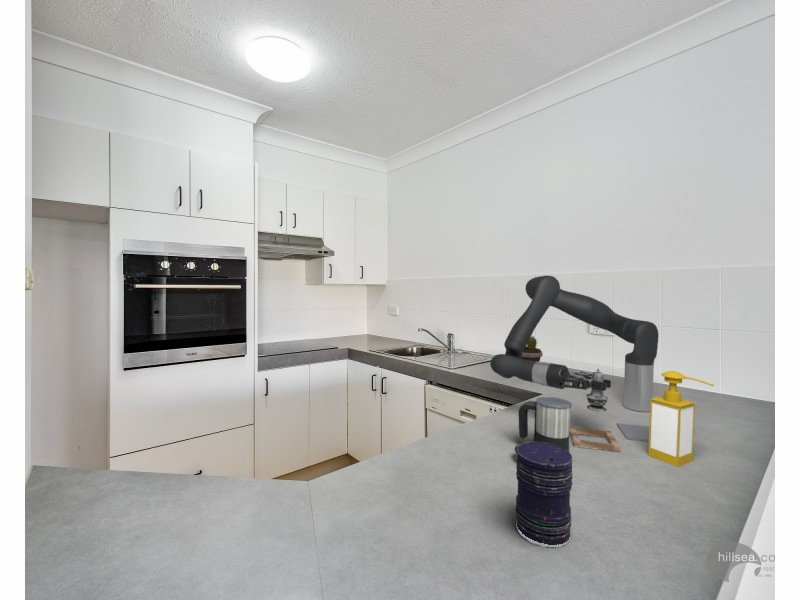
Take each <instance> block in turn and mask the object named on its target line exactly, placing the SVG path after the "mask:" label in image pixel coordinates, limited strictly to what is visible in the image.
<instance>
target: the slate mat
mask: <svg viewBox="0 0 800 600" xmlns="http://www.w3.org/2000/svg"><path fill="white" fill-rule="evenodd" d="M616 426H617V428H618V429H619V430H621V431H620V432H621V434H622V435H623V434H624V435H623V436H624V438H625V437H626V438H625V439H626V440H630V439H633V441H639V440H642V441H641V442H648V441H649V426H647V425H646V426H645V425H637V424H627V423H618V422H617V423H616Z"/></svg>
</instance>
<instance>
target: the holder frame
mask: <svg viewBox="0 0 800 600" xmlns="http://www.w3.org/2000/svg"><path fill="white" fill-rule="evenodd" d="M569 432H570V433H569V436H570V435H571V436H570V438H571V437H572V439H571V441H572V440H573V441H572V443H574V444H573V446H574V445H575V446H583V447H588V448H587V449H589V448H597V449H604V450H603V451H605V450H611V451H610V452H613V451H617V452H616V453H621V448H622V447H621V445H620V443H619V442H618V441H617V439H616V437H615V436H614V434H613V433H612V431H611V430H605V429H603V430H602V429H595V428H586V427H578V426H577V427H575V426H570V431H569ZM579 434H585V435H584V436H587V435H593V436H592V437H596V436H603V437H602V438H605V437H606V438H607V439H606V440H608V441H607V442H601V441H593V440H585V439H580V437H579ZM597 449H596V450H597Z"/></svg>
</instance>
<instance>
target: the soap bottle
mask: <svg viewBox="0 0 800 600" xmlns="http://www.w3.org/2000/svg"><path fill="white" fill-rule="evenodd" d="M660 375H661V376H662V377H663V378H664V379H663V380H664V382H665V383H666V382H667V383H668V384H669V388H667V389H664V395H661V396H657V397H653V398H652V399H650V400H651V401H650V411H649V426H648V427H649V442H648V452H647V453H648V456H649V457H651V458H655V459H657V460H659V461H662V462H665V463H667V464H670V465H673V466H675V467H681V466H682V465H685V464H688V463H691V462H693V461H694V459H693V458H694V436H695V435H694V433H695V411H696V409H695V408H696V402H695V401H690V400H686V399H682V391H680V390H677V387H678V386H677V384H678V385H679V384H682V383H683V380H684V379H685V380H686V379H687V380H692V381H697V382H700V383H703V384H706V385H709V386H711V387H714V386H715V384H714V383H711V382H708V381H705V380H701V379H698V378H694V377H690V376H686V375H684V374H683V373H681V372H679V371H676V370H675V371H674V370H668V371H664V372H662V373H661V374H660Z"/></svg>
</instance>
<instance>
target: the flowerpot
mask: <svg viewBox="0 0 800 600" xmlns="http://www.w3.org/2000/svg"><path fill="white" fill-rule="evenodd" d="M537 345H538V340H537V338H535V336H534V334H532V335H531V337H530V339H529V341H528V343H527V345H526V347H525V349H524V351H523V354H522V358H521V359H523V360H531V361H537V362H541V357H543V351H542V350H541V348H538V347H537Z"/></svg>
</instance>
